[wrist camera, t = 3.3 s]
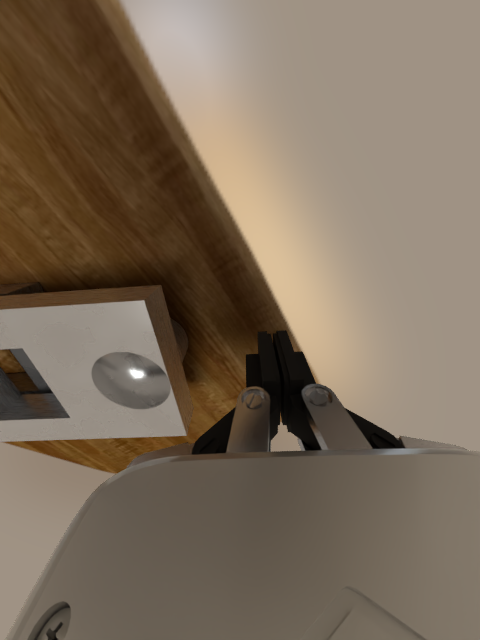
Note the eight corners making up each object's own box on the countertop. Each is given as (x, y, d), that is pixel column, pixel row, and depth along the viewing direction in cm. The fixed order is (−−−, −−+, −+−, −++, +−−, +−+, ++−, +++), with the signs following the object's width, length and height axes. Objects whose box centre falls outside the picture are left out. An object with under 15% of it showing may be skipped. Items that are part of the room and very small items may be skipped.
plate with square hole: (173, 273, 12) (144, 300, 9) (198, 386, 16) (186, 435, 13) (-43, 289, 13) (-153, 319, 9) (35, 393, 17) (-19, 442, 13)
